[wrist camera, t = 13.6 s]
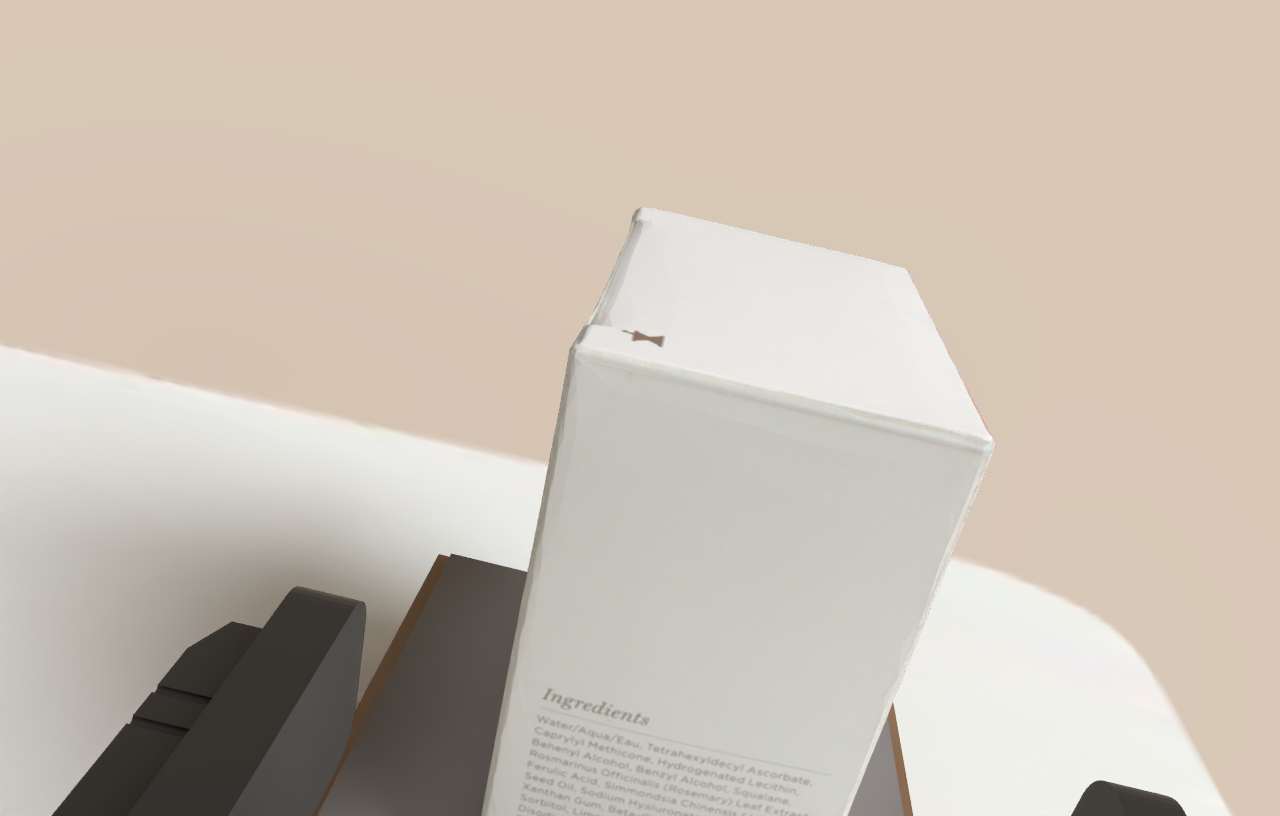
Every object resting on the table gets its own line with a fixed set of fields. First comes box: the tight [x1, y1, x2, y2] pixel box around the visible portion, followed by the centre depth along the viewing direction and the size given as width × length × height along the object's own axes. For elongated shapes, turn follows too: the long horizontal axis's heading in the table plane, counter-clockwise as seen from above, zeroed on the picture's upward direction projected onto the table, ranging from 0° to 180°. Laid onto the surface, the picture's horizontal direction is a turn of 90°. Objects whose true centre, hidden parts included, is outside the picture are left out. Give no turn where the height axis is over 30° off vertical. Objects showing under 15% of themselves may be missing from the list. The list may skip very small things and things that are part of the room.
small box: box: [481, 207, 996, 816], centre depth 18 cm, size 8×6×10 cm
